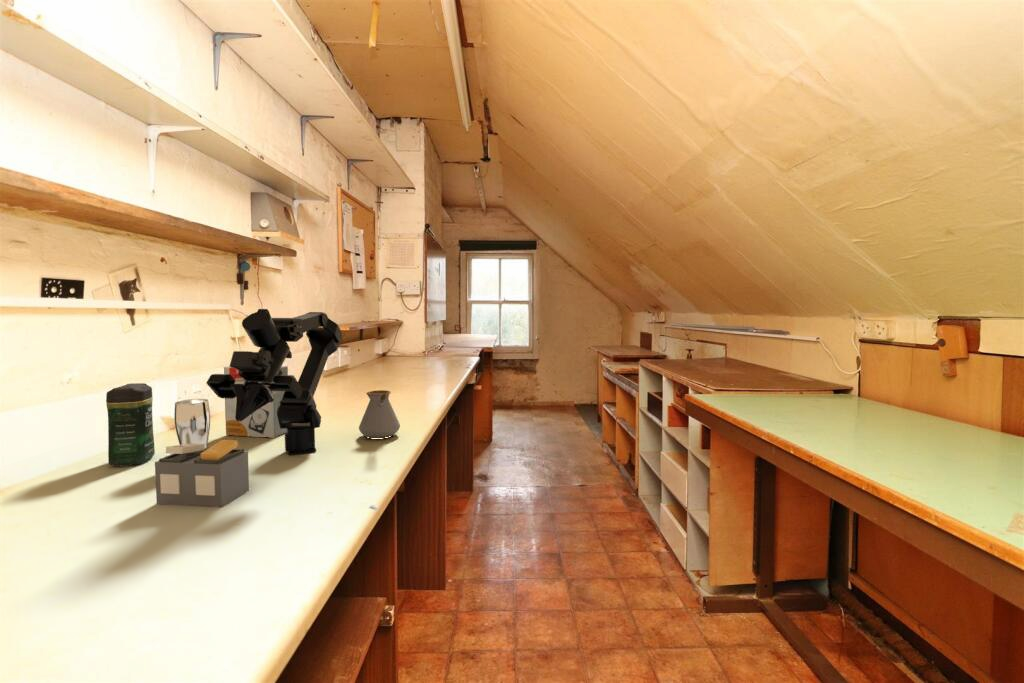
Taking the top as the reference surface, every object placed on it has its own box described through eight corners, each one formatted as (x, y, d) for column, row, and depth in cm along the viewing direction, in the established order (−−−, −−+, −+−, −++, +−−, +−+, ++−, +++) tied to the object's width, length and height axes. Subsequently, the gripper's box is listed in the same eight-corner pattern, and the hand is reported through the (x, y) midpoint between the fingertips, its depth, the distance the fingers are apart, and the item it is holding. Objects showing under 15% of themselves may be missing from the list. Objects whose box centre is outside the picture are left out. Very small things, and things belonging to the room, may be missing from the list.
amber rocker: (222, 445, 96) (221, 439, 96) (238, 445, 96) (237, 439, 96) (201, 459, 90) (200, 453, 90) (217, 460, 90) (216, 454, 90)
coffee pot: (358, 433, 143) (357, 382, 142) (397, 429, 147) (397, 380, 146) (361, 453, 123) (360, 395, 122) (407, 449, 127) (406, 392, 126)
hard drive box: (224, 436, 139) (222, 366, 137) (243, 429, 146) (241, 363, 145) (273, 438, 136) (271, 368, 135) (290, 431, 144) (288, 365, 142)
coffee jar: (144, 465, 112) (140, 386, 111) (103, 469, 110) (98, 388, 108) (160, 453, 121) (156, 380, 120) (122, 456, 119) (118, 381, 118)
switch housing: (188, 488, 99) (187, 447, 98) (249, 490, 97) (247, 449, 97) (155, 504, 90) (153, 459, 90) (220, 507, 89) (219, 462, 89)
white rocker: (189, 449, 97) (190, 443, 97) (204, 450, 96) (204, 443, 97) (165, 453, 91) (166, 446, 91) (181, 453, 91) (182, 447, 91)
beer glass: (194, 470, 109) (191, 405, 108) (169, 468, 111) (165, 403, 110) (219, 460, 116) (216, 399, 115) (195, 458, 117) (192, 397, 116)
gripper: (211, 336, 103) (172, 396, 93) (294, 337, 102) (264, 398, 91) (236, 369, 112) (203, 427, 101) (313, 370, 110) (287, 429, 100)
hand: (238, 420), depth 98 cm, fingers closed
